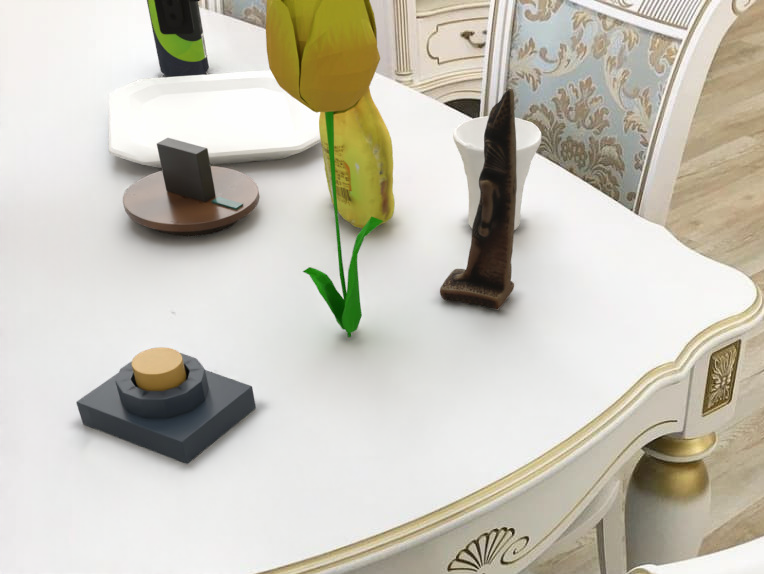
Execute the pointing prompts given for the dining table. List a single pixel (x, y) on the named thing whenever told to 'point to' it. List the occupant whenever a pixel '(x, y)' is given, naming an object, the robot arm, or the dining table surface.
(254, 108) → the plate
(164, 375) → the bell button
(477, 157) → the cup
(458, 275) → the statue
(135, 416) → the grey button base
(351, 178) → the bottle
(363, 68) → the flower
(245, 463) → the dining table surface
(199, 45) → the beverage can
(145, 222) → the turntable
